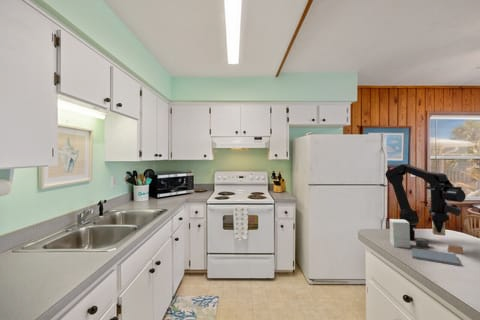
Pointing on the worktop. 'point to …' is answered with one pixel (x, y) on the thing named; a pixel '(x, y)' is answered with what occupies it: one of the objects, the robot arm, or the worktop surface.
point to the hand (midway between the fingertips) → (438, 231)
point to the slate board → (435, 256)
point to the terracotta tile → (455, 249)
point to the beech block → (437, 231)
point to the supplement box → (400, 233)
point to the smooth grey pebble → (422, 243)
